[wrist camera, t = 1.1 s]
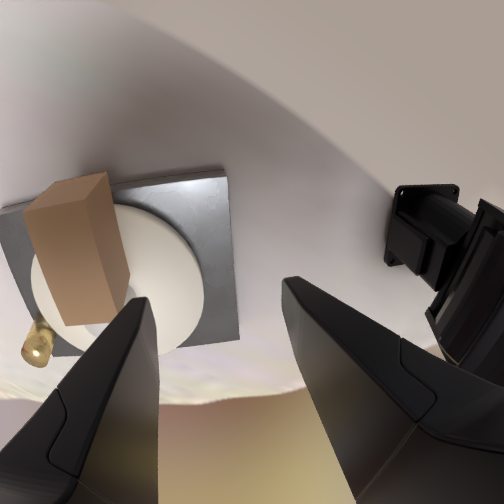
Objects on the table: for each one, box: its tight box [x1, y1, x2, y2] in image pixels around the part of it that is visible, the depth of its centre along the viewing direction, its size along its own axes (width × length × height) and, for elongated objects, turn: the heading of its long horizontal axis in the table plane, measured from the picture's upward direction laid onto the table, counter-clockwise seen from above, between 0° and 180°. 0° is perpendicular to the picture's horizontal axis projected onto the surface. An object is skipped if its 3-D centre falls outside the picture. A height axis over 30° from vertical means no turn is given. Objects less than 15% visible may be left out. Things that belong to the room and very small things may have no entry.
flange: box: [22, 172, 204, 356], centre depth 16 cm, size 11×13×5 cm
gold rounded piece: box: [21, 312, 58, 368], centre depth 18 cm, size 2×2×4 cm
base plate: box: [0, 170, 240, 357], centre depth 20 cm, size 15×12×2 cm
